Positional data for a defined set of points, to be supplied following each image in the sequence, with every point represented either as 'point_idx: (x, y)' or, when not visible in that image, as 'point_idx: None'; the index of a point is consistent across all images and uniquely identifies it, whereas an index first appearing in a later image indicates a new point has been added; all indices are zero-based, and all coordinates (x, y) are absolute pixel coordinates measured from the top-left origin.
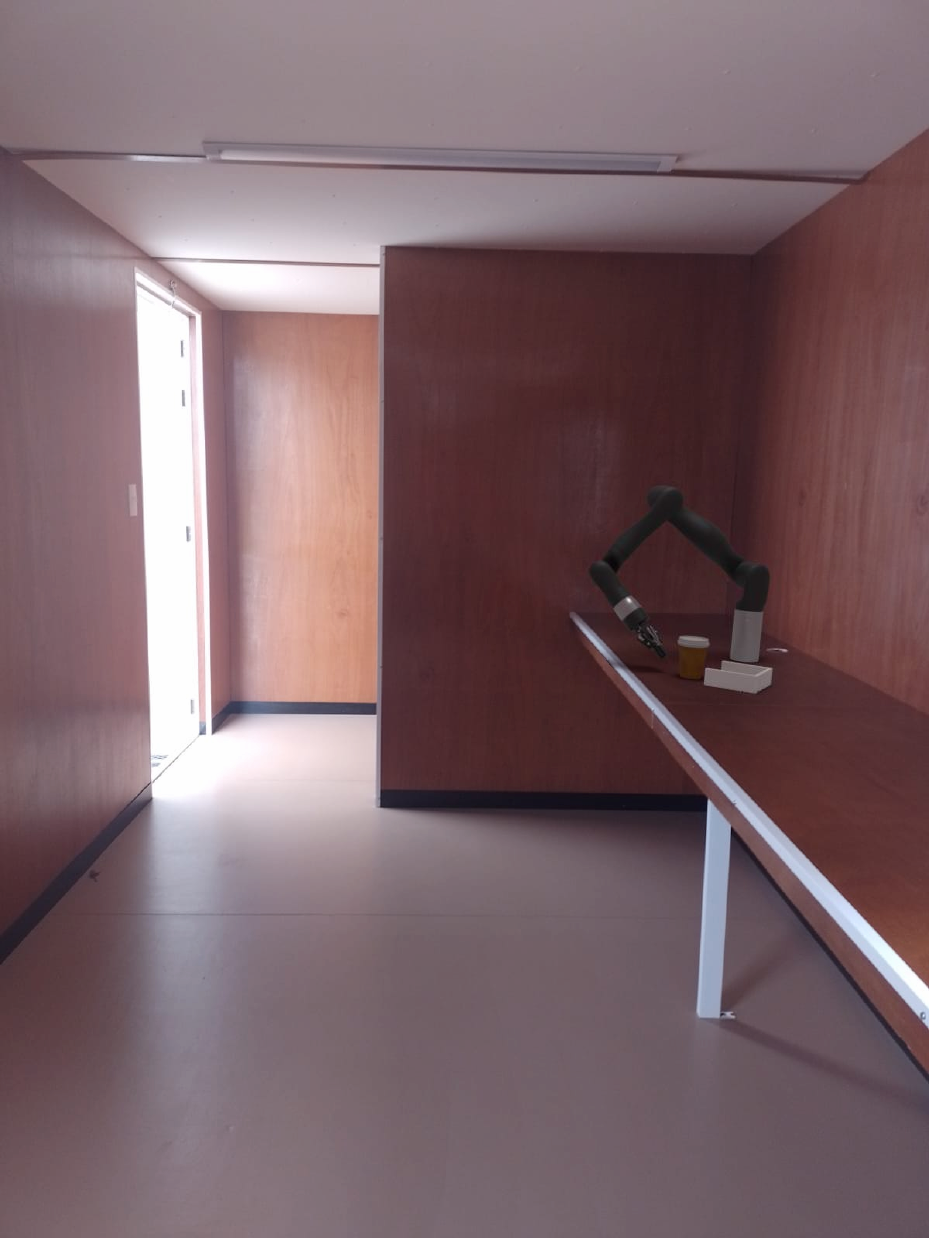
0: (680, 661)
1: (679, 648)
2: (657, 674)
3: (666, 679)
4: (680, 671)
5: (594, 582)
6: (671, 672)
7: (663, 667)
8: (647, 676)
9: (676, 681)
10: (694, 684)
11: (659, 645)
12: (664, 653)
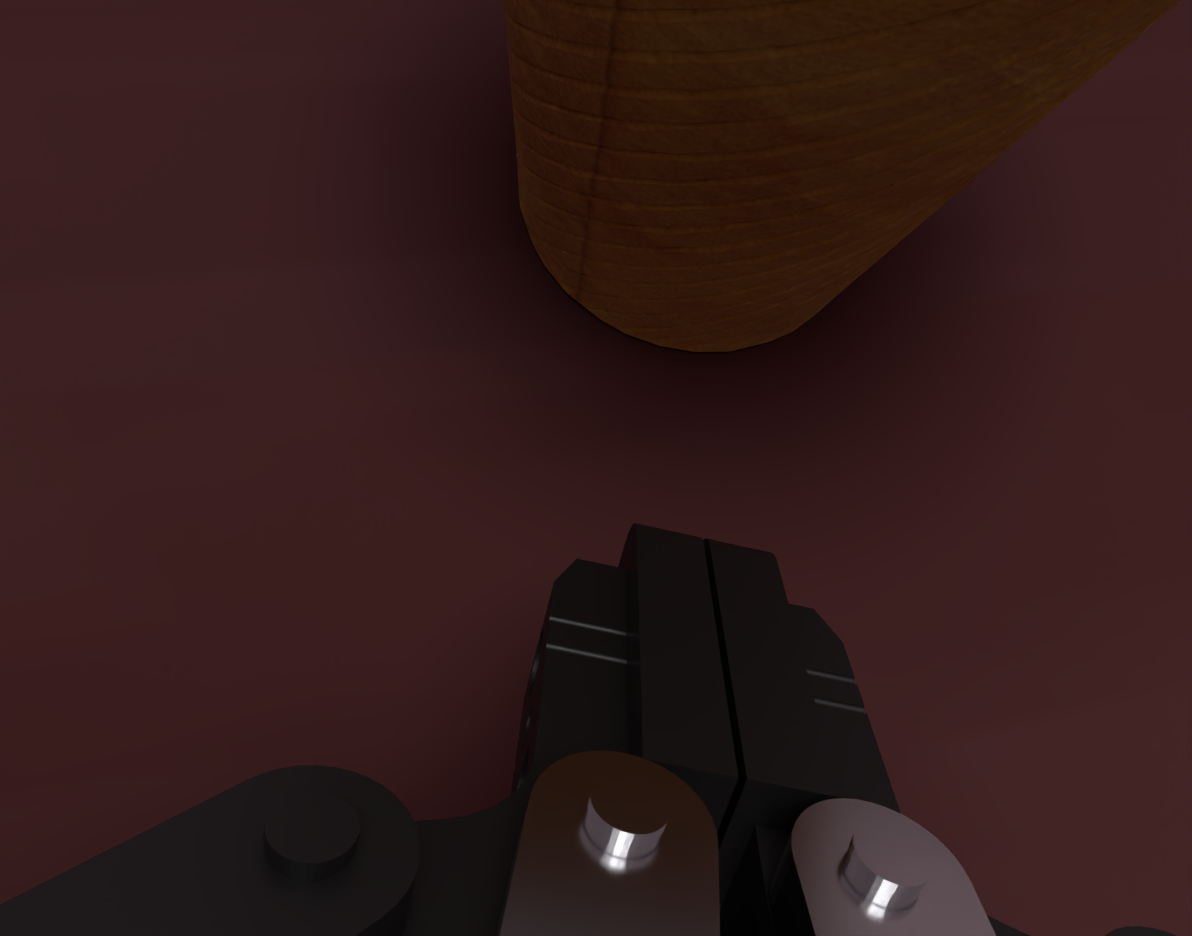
0: (943, 200)
1: (1127, 18)
2: None
3: (1152, 516)
4: (823, 299)
5: None
6: (502, 530)
7: (34, 779)
8: (1178, 879)
9: (1169, 354)
10: (1159, 115)
11: (841, 800)
12: (775, 600)
